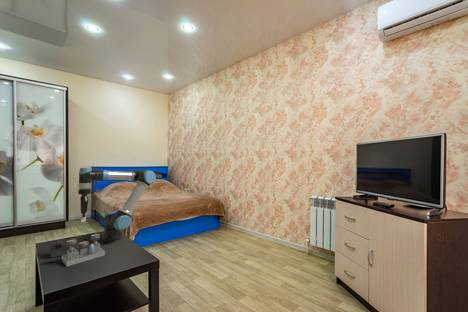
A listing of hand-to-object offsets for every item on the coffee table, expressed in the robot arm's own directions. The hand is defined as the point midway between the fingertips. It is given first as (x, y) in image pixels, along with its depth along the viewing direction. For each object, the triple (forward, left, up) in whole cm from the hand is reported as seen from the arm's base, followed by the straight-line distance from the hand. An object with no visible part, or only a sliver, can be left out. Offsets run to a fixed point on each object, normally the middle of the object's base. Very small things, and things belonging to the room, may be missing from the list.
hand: (83, 221), depth 160 cm
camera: (+11, -8, -23) cm, 27 cm away
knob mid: (+2, +9, -19) cm, 22 cm away
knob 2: (-5, +9, -16) cm, 19 cm away
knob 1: (+9, +9, -16) cm, 21 cm away
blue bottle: (-2, +14, -20) cm, 24 cm away
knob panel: (+2, +9, -23) cm, 25 cm away
